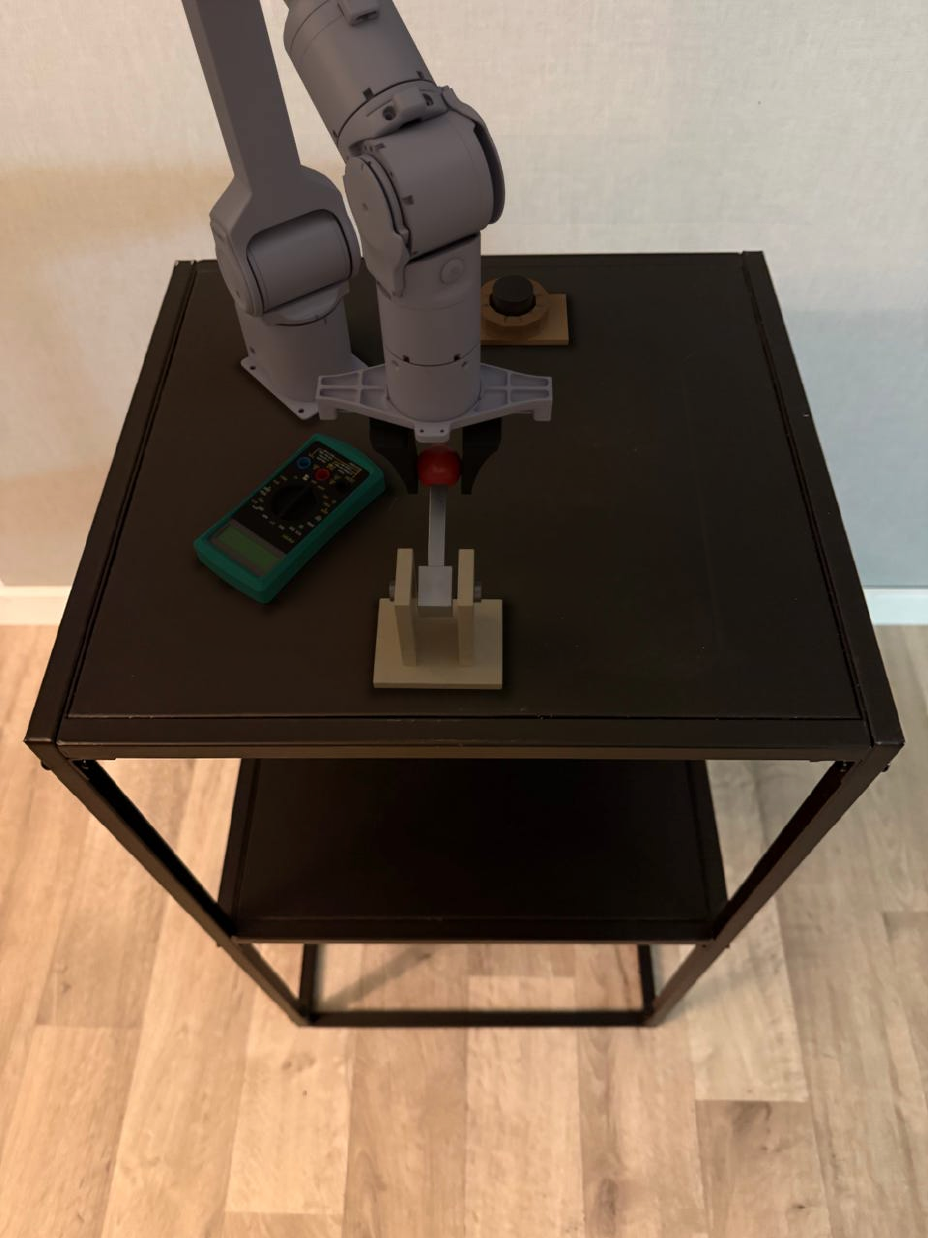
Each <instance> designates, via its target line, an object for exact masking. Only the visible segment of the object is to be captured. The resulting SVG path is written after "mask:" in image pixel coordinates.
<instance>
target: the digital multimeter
mask: <svg viewBox="0 0 928 1238" xmlns="http://www.w3.org/2000/svg"><path fill="white" fill-rule="evenodd" d="M385 483H386V482H385V475H384V471H383V470H382V469H381V468H380V467H379V466H378V465H377V464H376V463H375V462H374V461H373V460H372V459H370V458H369V456H367V455H366V454H365V453H364V452H362V451H361V450H359V449H358V448H356V447H354V446H353V445H351V444H349V443H347V442H344V441H343V440H340V439H337V438H335V437H331V436H328V435H326V434H323V433H319V432H318V433H315V434H313V435H312V436H310V438H309V439H308V440H307V441H306V442H304V444H303V445H301V446H300V447H299V448H298V450H296V451H295V453H293V455H291V456H290V458H288V459H287V460H286V461H285V462H284V463H283V464H282V465H281V466H280V467H279V468H278V469H277V470H276V471H274V473H272V474H271V475H270V476H269V477H268V478H267V479H266V480H264V482H263V483H261V484H260V485H259V486H258V487H257V488H256V489H255V490H253V492H252V493H250V494H249V495H247V497H246V498H244V499H243V500H242V501H241V502H240V503H239V504H238V505H237V506H235V507H234V508H233V509H232V510H231V511H229V512H228V513H226V514H225V515H224V516H223V517H222V518H221V519H220V520H218V521H217V522H215V524H213V525H212V526H210V527H209V528H208V529H206V531H204V532H203V533H202V534H201V535H200V536H198V537H197V538H196V539H195V540H194V541H193V548H194V549H195V553H196V555H197V556H198V559H199V561H200V562H202V563H203V564H204V565H205V566H206V567H207V568H208V569H209V570H210V571H211V572H213V573H215V575H217V576H218V577H219V578H221V579H222V580H223V581H224V582H226V583H228V584H229V585H230V586H232V587H233V588H234V589H237V591H239V592H241V593H242V594H245V595H246V596H248V597H249V598H251V599H253V600H255V601H256V602H258V603H260V604H263V605H264V604H268V603H270V602H271V601H272V600H273V599H274V598H275V597H276V596H277V595H278V593H279V592H280V591H281V590H282V589H283V588H284V587H285V586H286V585H287V584H288V583H289V582H290V581H291V580H292V579H293V578H294V576H295V575H297V573H298V572H299V571H300V570H301V569H302V568H303V567H304V566H305V565H306V564H307V563H308V562H310V560H311V559H312V558H313V557H314V556H315V555H316V554H317V553H318V552H319V551H320V550H321V549H322V548H323V547H324V546H325V545H326V544H327V543H328V542H329V541H330V540H331V539H332V538H333V537H334V536H335V535H336V534H338V532H340V531H341V530H342V529H343V528H344V527H345V526H346V525H347V524H349V522H351V521H352V520H353V519H354V518H355V517H356V516H357V515H358V514H359V513H360V512H362V510H364V509H365V508H366V507H367V506H368V505H369V504H371V503H372V502H373V501H374V500H375V499H376V498H377V497H379V496H380V495H381V494H382V493H383V492H384V491H385V490H386V484H385Z"/></svg>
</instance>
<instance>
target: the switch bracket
mask: <svg viewBox="0 0 928 1238" xmlns="http://www.w3.org/2000/svg"><path fill="white" fill-rule="evenodd" d="M396 554H397V555H396V556H397V557H396V569H395V570H396V571H395V580H390V581H389V586H388V587H389V588H388V592H389V593H388V595H389V598H387V597H385V598H383V597H382V598H379V602H378V604H379V605H378V614H377V630H376V642H375V655H374V667H373V678H372V679H373V680H372V683H373V687H374V688H375V689H443V690H445V689H446V690H447V689H449V690H450V689H451V690H502V689H503V599H499V598H498V599H496V598H495V599H490V598H487V599H486V598H483V599H482V584H483V582H482V581H480V580H479V581H478V580H476V581H475V549H473V548H471V549H470V548H459V549H458V567H457V568H458V572H457V598H453V617H420V616H419V611H418V606H417V602H418V583H417V575H416V565H415V556H414V555H415V554H414V549H413V548H398V549H397V553H396Z"/></svg>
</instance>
